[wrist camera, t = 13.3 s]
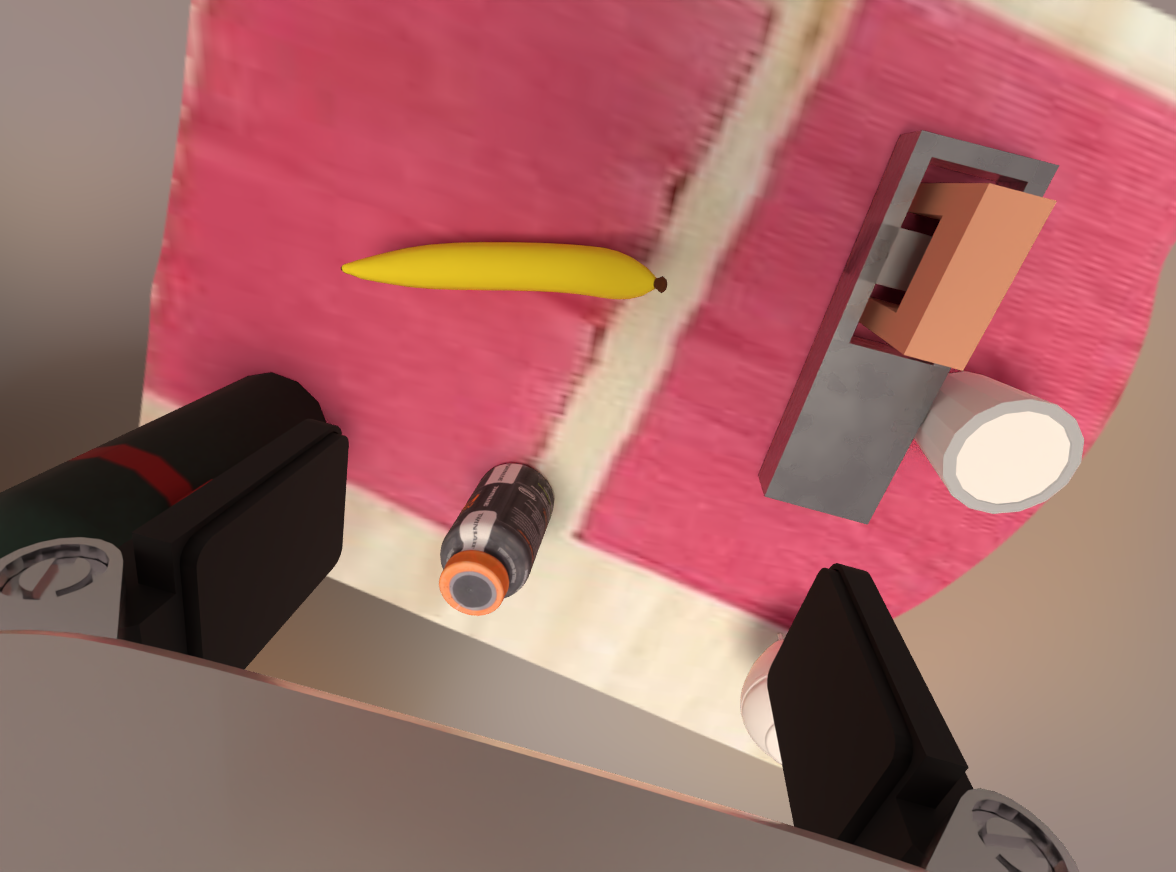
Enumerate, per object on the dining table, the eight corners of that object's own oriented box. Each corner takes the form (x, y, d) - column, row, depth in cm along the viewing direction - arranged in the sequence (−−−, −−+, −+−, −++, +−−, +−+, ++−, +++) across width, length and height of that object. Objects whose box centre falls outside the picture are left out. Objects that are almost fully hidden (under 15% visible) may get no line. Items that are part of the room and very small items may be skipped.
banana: (376, 235, 37) (322, 244, 32) (669, 244, 35) (669, 255, 30) (381, 280, 39) (331, 298, 33) (665, 292, 37) (665, 312, 31)
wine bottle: (361, 476, 45) (-107, 921, 18) (240, 460, 46) (-380, 861, 19) (351, 381, 42) (-238, 749, 15) (221, 366, 43) (-560, 686, 16)
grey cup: (887, 457, 39) (929, 510, 33) (909, 359, 36) (961, 397, 30) (996, 463, 38) (1061, 519, 32) (1027, 363, 35) (1105, 402, 29)
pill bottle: (483, 453, 43) (425, 538, 33) (560, 470, 43) (526, 562, 32) (475, 519, 45) (419, 617, 35) (548, 536, 45) (513, 640, 35)
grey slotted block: (900, 134, 31) (922, 130, 29) (1025, 167, 31) (1059, 165, 29) (758, 475, 41) (764, 496, 38) (854, 501, 41) (867, 524, 38)
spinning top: (851, 633, 45) (909, 776, 34) (780, 685, 48) (813, 831, 37) (778, 579, 44) (814, 708, 33) (710, 635, 47) (723, 771, 36)
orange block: (917, 183, 32) (989, 183, 25) (969, 197, 32) (1056, 201, 25) (856, 319, 36) (903, 354, 28) (903, 332, 36) (962, 371, 28)
